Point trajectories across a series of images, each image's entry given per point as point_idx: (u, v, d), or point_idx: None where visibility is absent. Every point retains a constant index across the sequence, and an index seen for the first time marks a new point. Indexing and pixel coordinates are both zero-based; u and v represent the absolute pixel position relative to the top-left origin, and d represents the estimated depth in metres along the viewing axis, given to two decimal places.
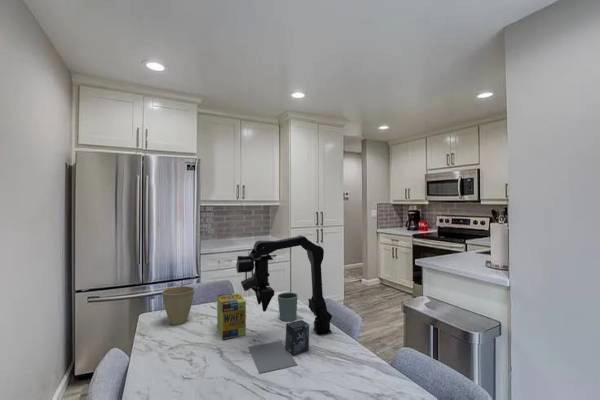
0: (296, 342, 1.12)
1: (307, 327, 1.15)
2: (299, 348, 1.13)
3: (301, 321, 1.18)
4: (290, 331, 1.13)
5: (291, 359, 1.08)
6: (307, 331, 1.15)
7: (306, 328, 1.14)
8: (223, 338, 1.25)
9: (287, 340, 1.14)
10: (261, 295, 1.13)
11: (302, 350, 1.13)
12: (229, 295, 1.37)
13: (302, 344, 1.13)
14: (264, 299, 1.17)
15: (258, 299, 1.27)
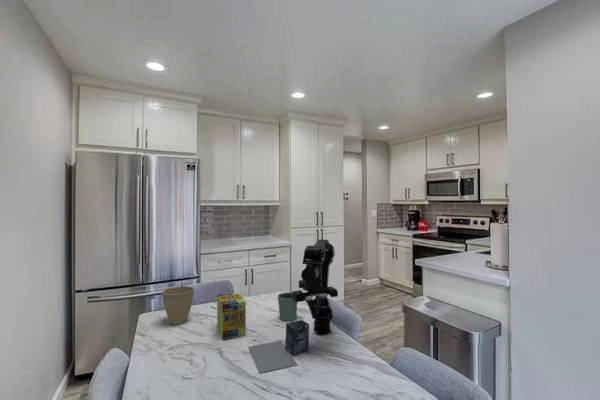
0: (296, 342, 1.12)
1: (307, 327, 1.15)
2: (299, 348, 1.13)
3: (301, 321, 1.18)
4: (290, 331, 1.13)
5: (291, 359, 1.08)
6: (307, 331, 1.15)
7: (306, 328, 1.14)
8: (223, 338, 1.25)
9: (287, 340, 1.14)
10: (291, 296, 1.17)
11: (302, 350, 1.13)
12: (229, 295, 1.37)
13: (302, 344, 1.13)
14: (309, 302, 1.18)
15: (316, 309, 1.19)
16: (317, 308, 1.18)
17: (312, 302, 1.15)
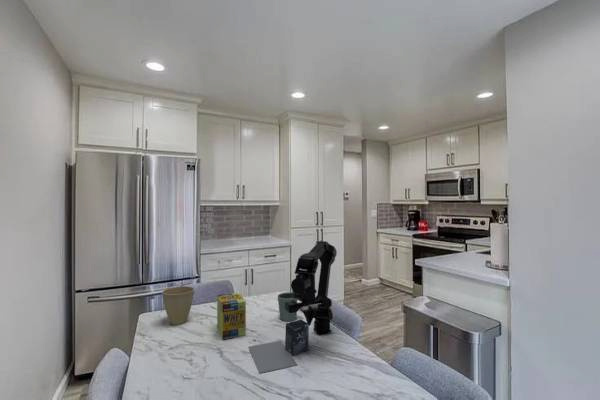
0: (296, 342, 1.12)
1: (307, 327, 1.15)
2: (299, 348, 1.13)
3: (300, 321, 1.18)
4: (289, 331, 1.13)
5: (291, 359, 1.08)
6: (307, 331, 1.15)
7: (305, 328, 1.14)
8: (223, 338, 1.25)
9: (287, 340, 1.14)
10: (285, 306, 1.16)
11: (302, 350, 1.13)
12: (229, 295, 1.37)
13: (302, 344, 1.13)
14: (305, 312, 1.17)
15: None
16: None
17: (308, 312, 1.14)
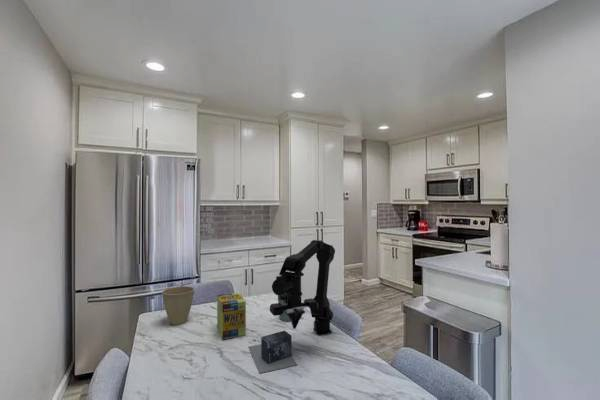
0: (281, 354, 1.08)
1: (270, 344, 1.06)
2: (287, 347, 1.10)
3: (262, 342, 1.08)
4: None
5: (291, 359, 1.08)
6: (274, 343, 1.07)
7: (271, 346, 1.06)
8: (223, 338, 1.25)
9: None
10: (270, 309, 1.14)
11: (290, 343, 1.10)
12: (229, 295, 1.37)
13: (284, 345, 1.09)
14: None
15: None
16: None
17: (293, 315, 1.12)
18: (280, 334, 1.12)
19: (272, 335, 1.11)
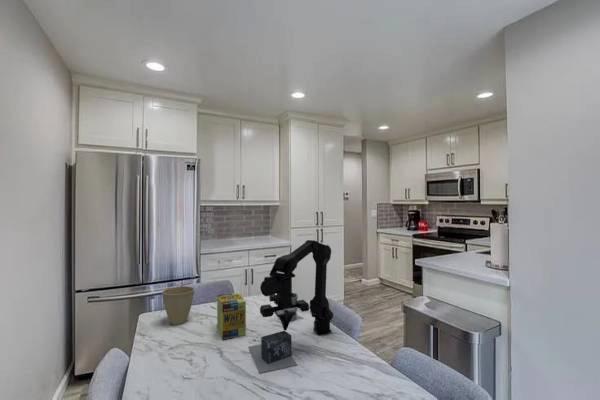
0: (281, 354, 1.08)
1: (270, 344, 1.06)
2: (287, 347, 1.10)
3: (262, 342, 1.08)
4: None
5: (291, 359, 1.08)
6: (274, 343, 1.07)
7: (271, 346, 1.06)
8: (223, 338, 1.25)
9: None
10: (260, 310, 1.12)
11: (290, 343, 1.10)
12: (229, 295, 1.37)
13: (284, 345, 1.09)
14: (281, 316, 1.13)
15: None
16: None
17: (283, 317, 1.10)
18: (280, 334, 1.12)
19: (272, 335, 1.11)
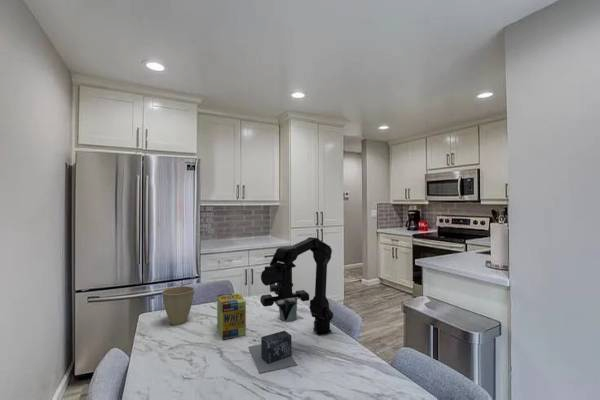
0: (281, 354, 1.08)
1: (270, 344, 1.06)
2: (287, 347, 1.10)
3: (262, 342, 1.08)
4: None
5: (291, 359, 1.08)
6: (274, 343, 1.07)
7: (271, 346, 1.06)
8: (223, 338, 1.25)
9: None
10: (260, 300, 1.13)
11: (290, 343, 1.10)
12: (229, 295, 1.37)
13: (284, 345, 1.09)
14: None
15: None
16: None
17: (284, 306, 1.11)
18: (280, 334, 1.12)
19: (272, 335, 1.11)
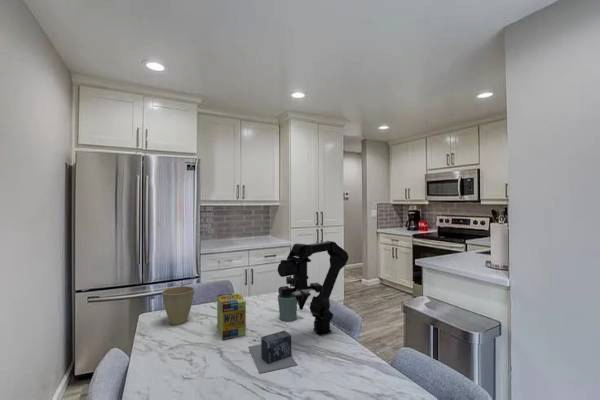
0: (281, 354, 1.08)
1: (270, 344, 1.06)
2: (287, 347, 1.10)
3: (262, 342, 1.08)
4: None
5: (291, 359, 1.08)
6: (274, 343, 1.07)
7: (271, 346, 1.06)
8: (223, 338, 1.25)
9: None
10: (278, 291, 1.23)
11: (290, 343, 1.10)
12: (229, 295, 1.37)
13: (284, 345, 1.09)
14: (297, 297, 1.24)
15: None
16: None
17: (300, 297, 1.22)
18: (280, 334, 1.12)
19: (272, 335, 1.11)
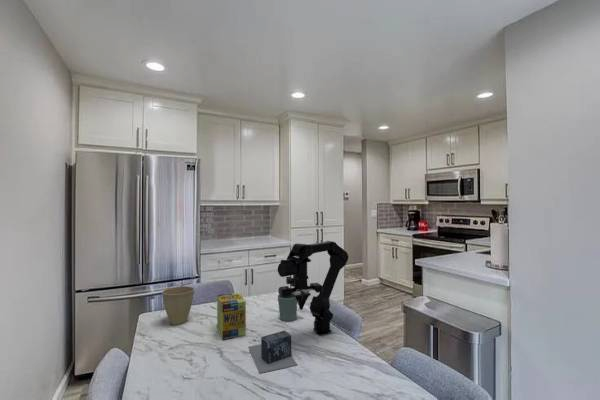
0: (281, 354, 1.08)
1: (270, 344, 1.06)
2: (287, 347, 1.10)
3: (262, 342, 1.08)
4: None
5: (291, 359, 1.08)
6: (274, 343, 1.07)
7: (271, 346, 1.06)
8: (223, 338, 1.25)
9: None
10: (278, 291, 1.24)
11: (290, 343, 1.10)
12: (229, 295, 1.37)
13: (284, 345, 1.09)
14: (297, 297, 1.24)
15: None
16: None
17: (300, 297, 1.22)
18: (280, 334, 1.12)
19: (272, 335, 1.11)
